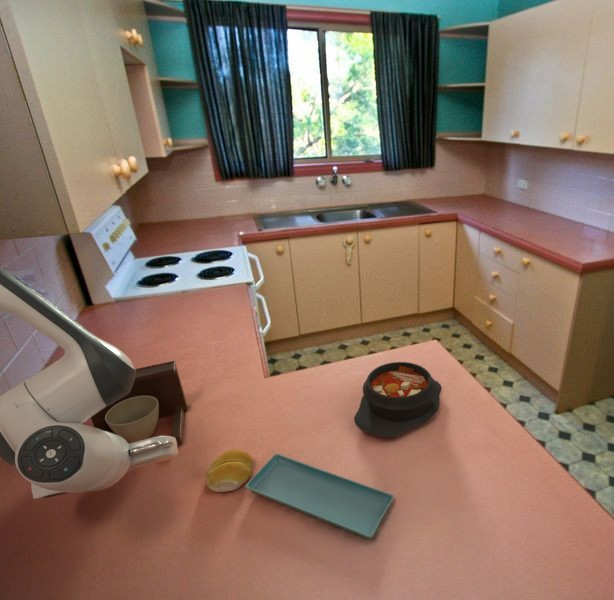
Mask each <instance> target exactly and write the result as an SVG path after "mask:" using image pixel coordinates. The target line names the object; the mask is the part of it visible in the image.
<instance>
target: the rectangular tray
mask: <svg viewBox="0 0 614 600" xmlns="http://www.w3.org/2000/svg"><path fill="white" fill-rule="evenodd" d="M244 487H245V489H247V490H249V492H251V493H253V494H255V495H258V496H260V497H263V498H264V499H267V500H270V501H272V502H275V503H277V504H279V505H282V506H284V507H286V508H289V509H292V510H294V511H296V512H299V513H301V514H304V515H306V516H309V517H312V518H313V519H316V520H319V521H321V522H324V523H326V524H328V525H331V526H333V527H336V528H338V529H341V530H344V531H346V532H348V533H351V534H353V535H356V536H359V537H361V538H364V539H366V540H371V538H373V536H374V535H375V534H376V531H377V529H378V528H379V525H380V523H381V521H382V520H383V517H384V515H385V514H386V512H387V511H388V508H389V507H390V505H391V504H392V502H393V500H394V498H395V497H394V494H392V493H389V492H386V491H383V490H380V489H377V488H376V487H372V486H369V485H366V484H364V483H360V482H358V481H355V480H353V479H349V478H346V477H343V476H341V475H338V474H336V473H332V472H330V471H327V470H324V469H322V468H318V467H315V466H313V465H310V464H307V463H304V462H301V461H299V460H296V459H293V458H291V457H288V456H285V455H282V454H280V453H274V454H273V455H272V456H271V457H270V459H269V460H268V461H267V462H266V463H265V464H264V465H263V466H262V467H261V468H260V469H259V470H258V472H257V473H256V474H255V475H254V476H252V477H251V479H250V480H249V481H248V482H247V483H246V484H245V485H244Z"/></svg>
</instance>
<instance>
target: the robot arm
mask: <svg viewBox="0 0 614 600" xmlns="http://www.w3.org/2000/svg"><path fill="white" fill-rule="evenodd" d="M0 312H1V313H7V314H11V315H13V316H15V317H17V318H20V319H21V320H22V321H23V322H25V323H26V324H28V325H29V326H31V327H32V328H34V329H35V330H36V331H37V332H39V333H40V334H41V335H42V336H44V337H46V338H48V339H49V341H51V342H52V343H54V344H55V345H57V346H58V347H60V348H61V349H63V350H64V353H63V355H62V356H61V357H60V358H58V360H56V361H54V362H52V363H51V364H50V365H48V366H46V367H45V368H44V369H42V370H40V371H39V372H37V373H36V374H33V376H31V377H29V378H28V379H25V380H23V381H22V382H20V383H18V384H16V385H15V386H13V387H11V388H10V389H9V390H8V391H6V392H4V393H3V394H1V395H0V458H1V459H2V460H3V461H4V462H6V463H7V464H9V465H11V466H13V467H16V469H17V471H18V473H19V474H20V475H21V476H22V477H23V478H24V479H25V480H26V481H28V482H29V483H30V486H31V488H30V489H31V493H32V498H33V500H42V499H48V498H51V497H56V496H60V495H66V494H68V493H86V492H98V491H102V490H105V489H109V488H110V487H112V486H114V485H115V484H117V483H118V482H119V481H120V480H121V479H122V478H123V477H124V476H125V475H126V474H127V472H128V471H133V470H136V469H139V468H143V467H147V466H150V465H153V464H157V463H161V462H164V461H168V460H171V459H174V458H176V457H178V455H179V449H178V445H177V441H176V438H175V437H172V435H158V436H154V437H149V438H148V439H145V440H141V441H137V442H133V443H130V442H128V441H126V440H125V439H124V438H122V437H121V436H118V435H117V434H115V433H114V432H110V431H108V432H107V431H103V430H100V429H98V428H95V427H94V426H93V425H88V424H84V423H85V422H87V421H88V420H89V419H91V417H92V416H93V415H95V414H96V413H98V412H99V411H100V410H102V409H103V408H105V407H106V406H109V405H111V404H113V403H114V402H116V401H118V400H119V399H121V398H123V397H124V396H126V395H128V394H129V393H130V391H131V389H132V386H133V383H134V380H135V375H136V369H137V368H135V366H134V364H133V362H132V360H131V359H130V358H129V357H128V355H126V353H124V352H123V351H122V350H121V349H120V348H118V347H116V346H114V345H113V344H111V343H109V342H107V341H105V340H103V339H101V338H99V337H98V336H96V335H95V334H93V333H92V332H91V331H90V330H88V329H87V328H86V327H84V326H83V325H81V323H79V322H78V321H77V320H75V319H74V318H72V317H71V316H70V315H68V313H66V312H64V311H63V310H62V309H61V308H59V307H58V306H56V305H55V304H54V303H52V301H50V300H49V299H47V298H46V297H44V295H42V294H40V293H39V292H38V291H36V290H35V289H34V288H32V287H31V286H30V285H28V284H27V283H25V282H24V281H23V280H21V279H20V278H18V277H17V276H16V275H14V274H12V273H11V272H9V271H7V270H6V269H5V268H2V267H0Z"/></svg>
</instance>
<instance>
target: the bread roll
mask: <svg viewBox="0 0 614 600" xmlns="http://www.w3.org/2000/svg"><path fill="white" fill-rule="evenodd" d="M253 466H254V458H253V456H251V454H249V453H248V452H247V451H245V450H242V449H230V450H226V451H224V452H223V453H221V454H219V455H218V456H217V457H216V458H214V460H213V461H212V462H211V464H210V466H209V467H208V470H207V473H206V477H205V480H206V486H207V488H208V489H209V490H211V491H213V492H215V493H226V492H231V491H235V490H237V489H239V488H240V487H242V486H243V485H244V484H245V483H246V482H247V481H248V479H249V478H250V475H251V473H252V472H251V471H252V468H253Z"/></svg>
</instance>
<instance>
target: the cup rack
mask: <svg viewBox="0 0 614 600" xmlns="http://www.w3.org/2000/svg"><path fill="white" fill-rule="evenodd" d="M135 369H136V375H135V380H134V383H133V386H132V389H131V391H130V393H129V394H128V395H126V396H124V397H123V398H121V399H119V400H118V401H116V402H114V403H113V404H111V405H109V406H106V407H105V408H103V409H102V410H100V411H99V412H98V413H96V414H95V415H93V416H92V417H91V418H90V420H91V422H92V426H93V427H95V428H98V429H100V430H103V431H107V432H110V431H112V429H111V428H110V427H109V426H108V424H107V422H106V421H105V415H106V413H107V412H108V411H109V410H110V409H111V408H112V407H113V406H114V405H116V404H118V403H119V402H121V401H124V400H126V399H129V398H132V397H137V396H152V397H155V398H156V399H157V400H158V404H159V415H158V419H160V418H163V417H168V416H171V415H173V420H172V421H173V422H172V431H171V437H175V438H176V441H177V446H179V445H182V444H183V436H184V435H183V434H184V433H183V432H184V420H185V419H184V417H185V412H187V411H189V406H188V402H187V398H186V394H185V391H184V387H183V384H182V381H181V376H180V373H179V370H178V366H177V362H176V360H172V361H167V362H162V363H157V364H152V365H148V366H143V367H138V368H135Z"/></svg>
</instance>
